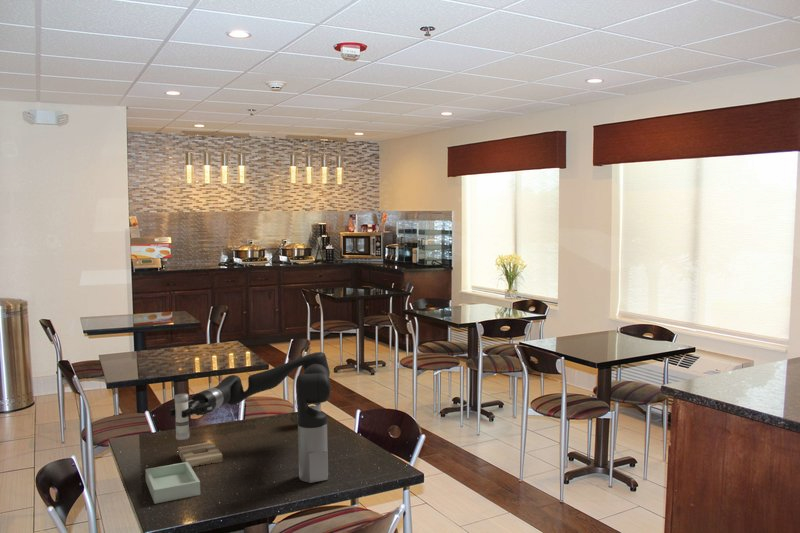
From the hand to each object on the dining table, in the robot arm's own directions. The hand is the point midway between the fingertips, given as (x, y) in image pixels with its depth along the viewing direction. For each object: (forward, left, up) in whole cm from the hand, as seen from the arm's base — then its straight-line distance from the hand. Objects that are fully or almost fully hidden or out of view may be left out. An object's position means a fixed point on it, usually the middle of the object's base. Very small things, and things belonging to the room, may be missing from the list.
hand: (176, 414), depth 208 cm
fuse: (+2, -2, -8) cm, 9 cm away
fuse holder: (+17, -10, -21) cm, 29 cm away
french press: (+37, -58, -21) cm, 72 cm away
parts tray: (-7, +3, -21) cm, 22 cm away
